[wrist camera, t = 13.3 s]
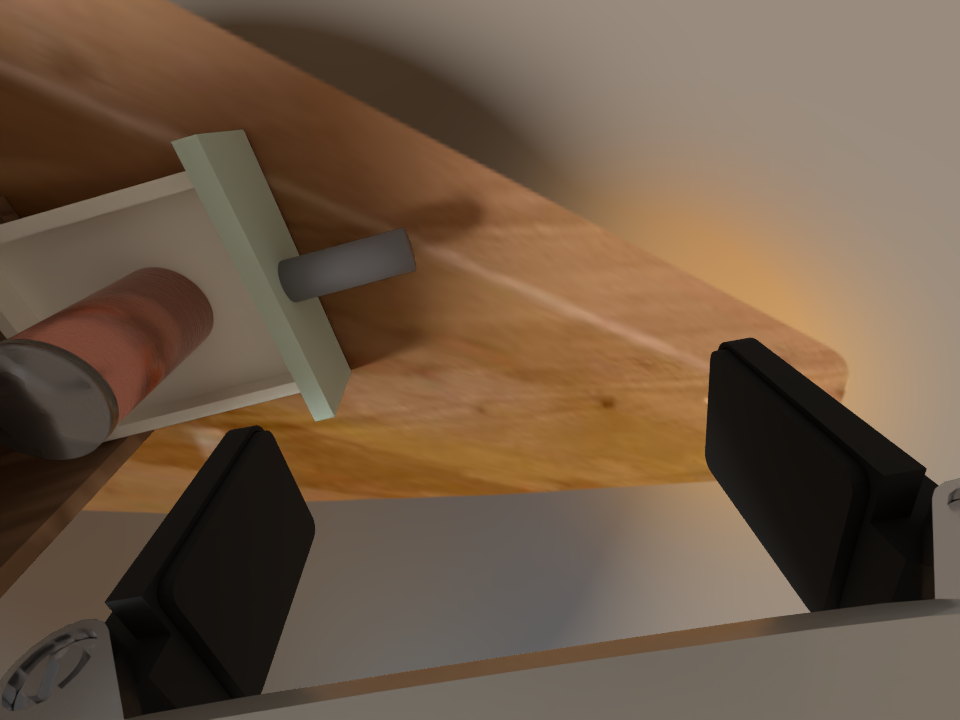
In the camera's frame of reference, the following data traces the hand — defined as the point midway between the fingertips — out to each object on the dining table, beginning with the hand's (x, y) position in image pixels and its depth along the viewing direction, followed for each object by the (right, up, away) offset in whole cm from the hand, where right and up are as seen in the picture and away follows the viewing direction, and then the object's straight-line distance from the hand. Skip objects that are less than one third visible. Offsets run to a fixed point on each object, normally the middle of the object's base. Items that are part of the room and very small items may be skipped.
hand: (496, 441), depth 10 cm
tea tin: (-19, +5, +18) cm, 26 cm away
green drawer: (-16, +6, +19) cm, 26 cm away
